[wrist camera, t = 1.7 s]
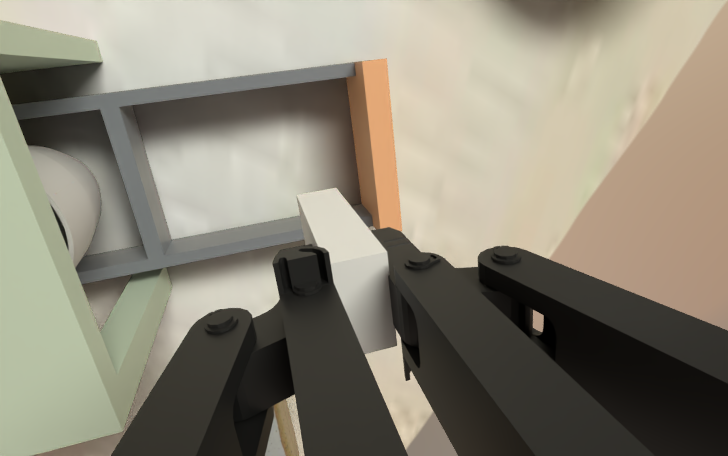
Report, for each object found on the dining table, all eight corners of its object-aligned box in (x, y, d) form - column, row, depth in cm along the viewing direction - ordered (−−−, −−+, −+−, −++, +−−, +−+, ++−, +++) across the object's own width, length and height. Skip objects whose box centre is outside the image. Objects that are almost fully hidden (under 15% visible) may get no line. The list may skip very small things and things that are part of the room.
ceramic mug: (298, 425, 40) (309, 499, 33) (206, 456, 38) (196, 541, 31) (266, 327, 36) (271, 387, 29) (164, 357, 35) (142, 428, 28)
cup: (-48, 152, 27) (-201, 193, 18) (86, 108, 28) (7, 126, 19) (30, 265, 30) (-66, 349, 21) (147, 222, 31) (106, 285, 22)
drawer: (-96, 118, 25) (-171, 128, 21) (365, 60, 31) (386, 58, 26) (-15, 286, 29) (-63, 326, 25) (381, 210, 34) (402, 230, 30)
